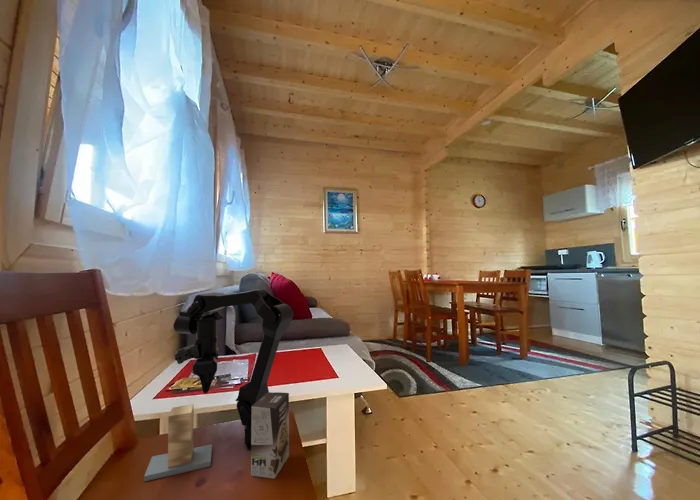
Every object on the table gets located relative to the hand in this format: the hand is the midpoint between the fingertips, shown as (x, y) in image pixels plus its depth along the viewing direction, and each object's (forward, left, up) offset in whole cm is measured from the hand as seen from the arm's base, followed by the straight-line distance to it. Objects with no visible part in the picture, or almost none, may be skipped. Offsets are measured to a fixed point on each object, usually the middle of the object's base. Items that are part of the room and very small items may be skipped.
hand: (206, 387), depth 94 cm
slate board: (+5, +14, -13) cm, 20 cm away
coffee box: (-16, +24, -13) cm, 32 cm away
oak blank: (+5, +14, -12) cm, 19 cm away
